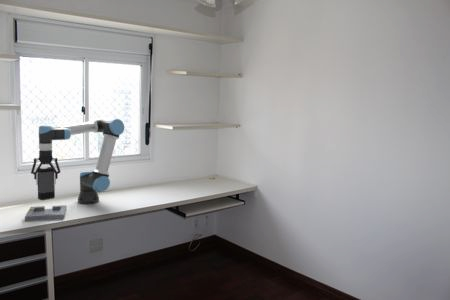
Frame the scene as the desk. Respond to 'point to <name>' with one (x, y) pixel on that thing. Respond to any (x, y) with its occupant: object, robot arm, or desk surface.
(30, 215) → the chassis
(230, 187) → the desk surface
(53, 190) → the electronic device
